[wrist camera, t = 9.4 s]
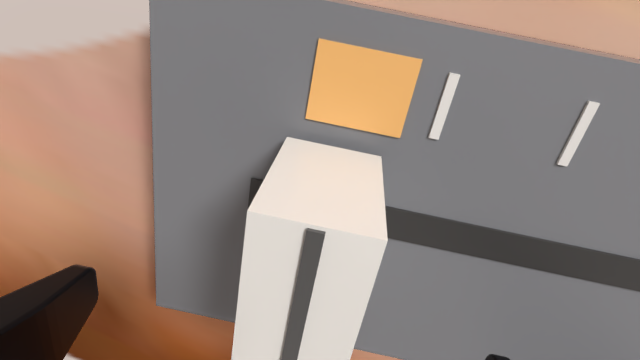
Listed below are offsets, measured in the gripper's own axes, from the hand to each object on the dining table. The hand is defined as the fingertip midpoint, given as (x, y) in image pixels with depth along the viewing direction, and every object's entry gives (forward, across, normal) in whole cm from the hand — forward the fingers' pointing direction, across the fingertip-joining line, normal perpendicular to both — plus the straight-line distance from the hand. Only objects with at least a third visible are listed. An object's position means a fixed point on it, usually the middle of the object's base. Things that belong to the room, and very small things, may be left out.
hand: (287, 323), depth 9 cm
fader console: (+8, -7, 0) cm, 10 cm away
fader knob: (+5, 0, 0) cm, 5 cm away
